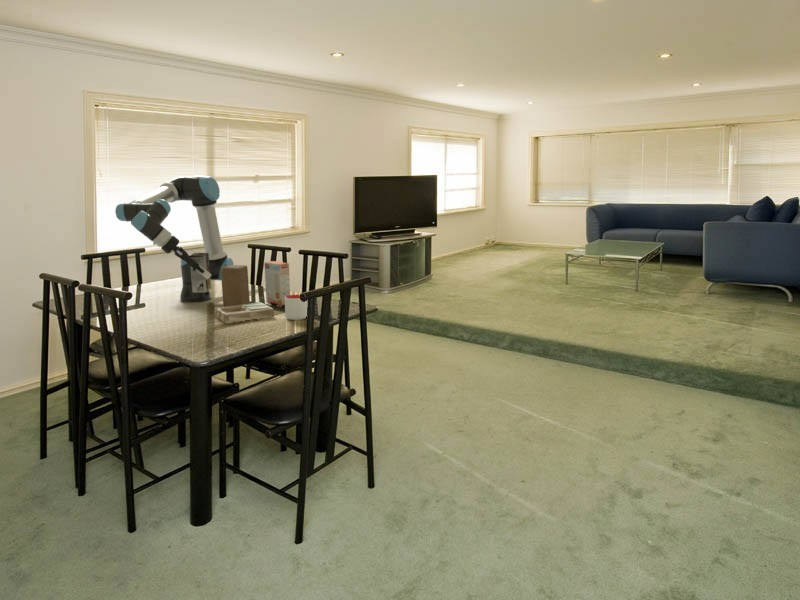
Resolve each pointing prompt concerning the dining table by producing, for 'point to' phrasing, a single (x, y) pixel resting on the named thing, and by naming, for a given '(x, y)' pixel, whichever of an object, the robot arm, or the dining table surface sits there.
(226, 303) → the wooden block
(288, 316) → the cup
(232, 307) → the hole board
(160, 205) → the robot arm
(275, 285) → the cracker box
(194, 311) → the dining table surface
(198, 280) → the coffee box
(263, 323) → the dining table surface
